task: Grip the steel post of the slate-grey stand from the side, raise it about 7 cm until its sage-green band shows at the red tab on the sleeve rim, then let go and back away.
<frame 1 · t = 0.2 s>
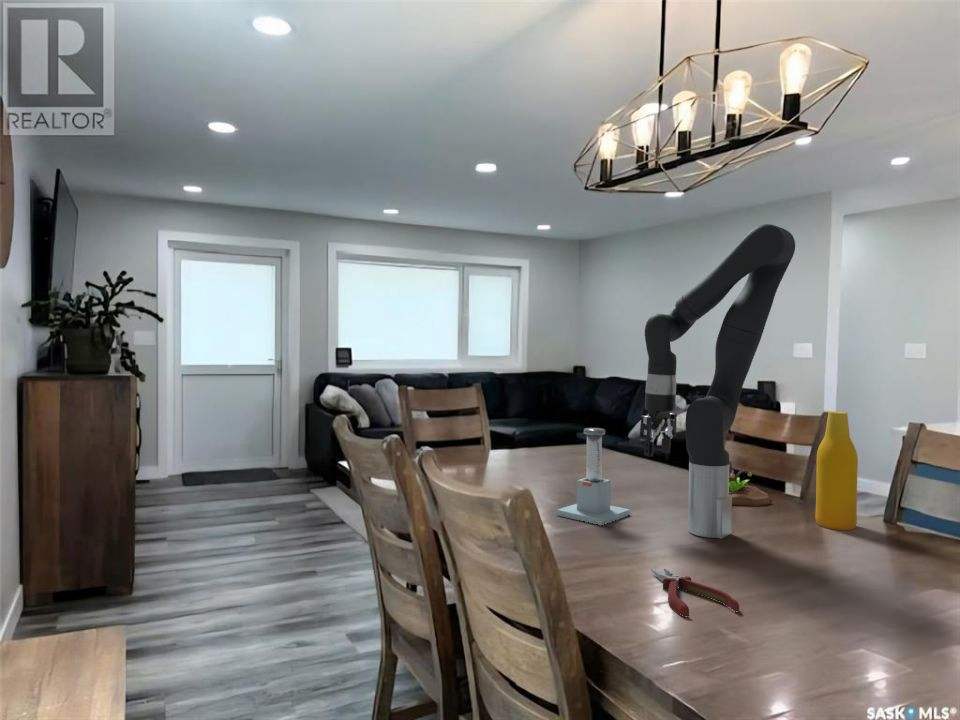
hand: (657, 454, 163), 18 cm above the table, tool pointing down, fingers open, 8 cm apart
column: (593, 468, 170), point 13 cm above the table, slide at 0.0 cm
plant: (731, 499, 191), on the table
stand base: (593, 515, 170), on the table
pliers: (693, 598, 117), on the table
beer bottle: (835, 526, 161), on the table
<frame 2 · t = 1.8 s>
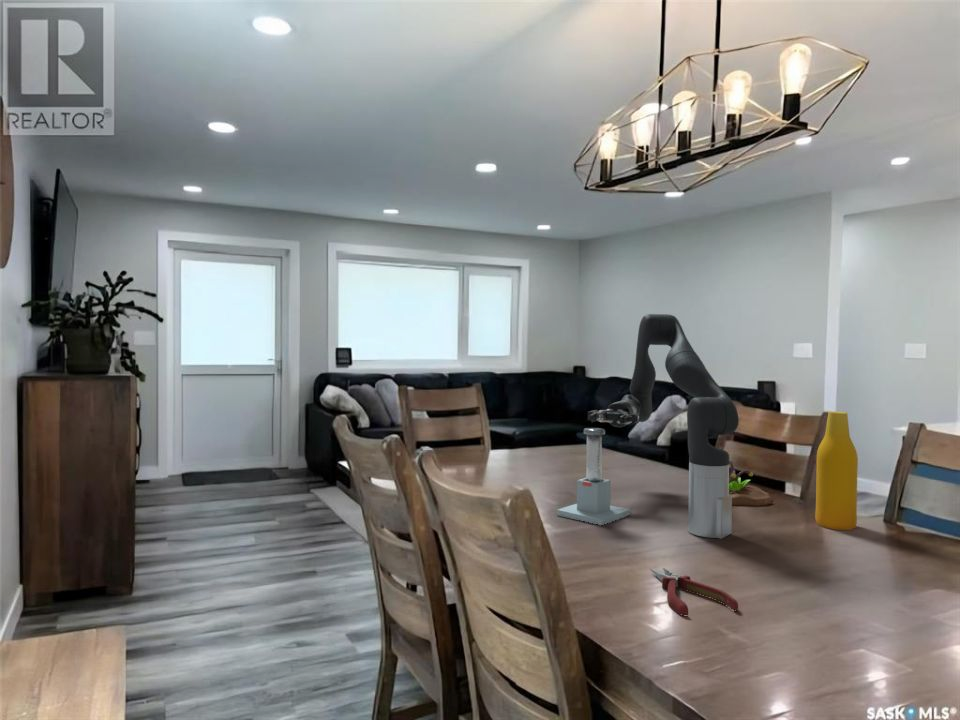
hand: (606, 419, 179), 25 cm above the table, tool horizontal, fingers open, 8 cm apart
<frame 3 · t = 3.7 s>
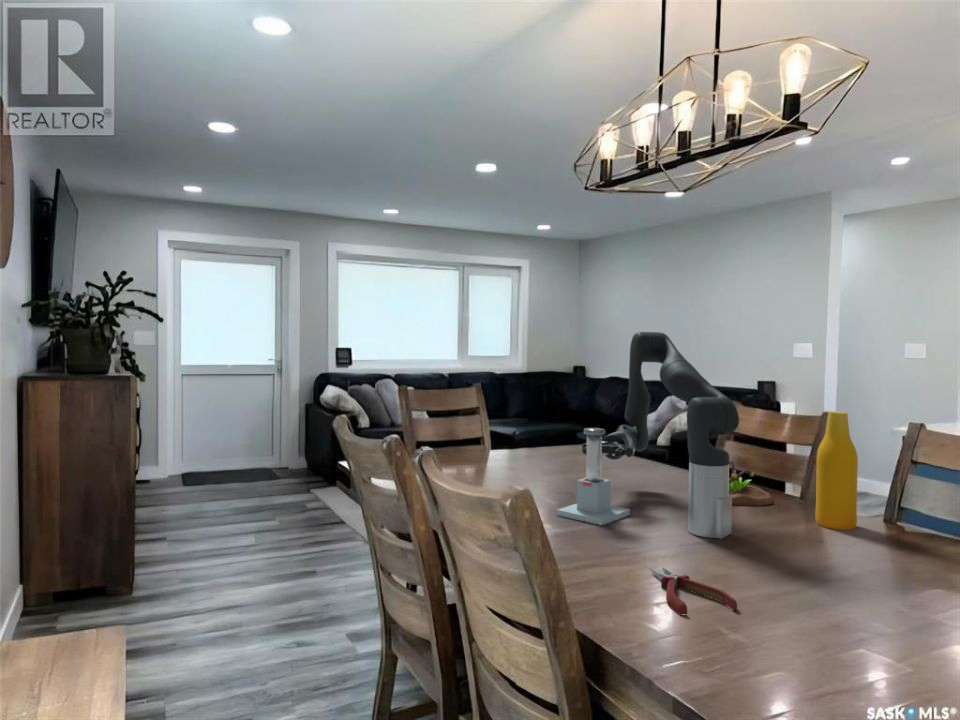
hand: (600, 452, 175), 16 cm above the table, tool horizontal, fingers open, 8 cm apart
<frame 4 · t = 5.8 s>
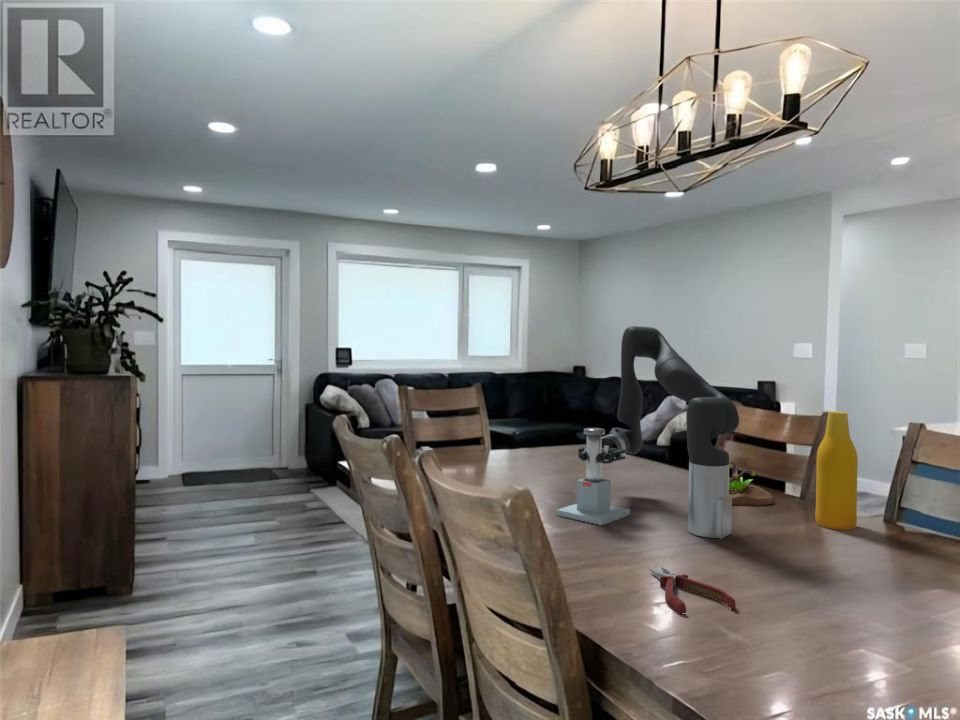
hand: (590, 457, 167), 16 cm above the table, tool horizontal, fingers closed on column, 4 cm apart
column: (593, 468, 170), point 13 cm above the table, slide at 0.0 cm, touching gripper
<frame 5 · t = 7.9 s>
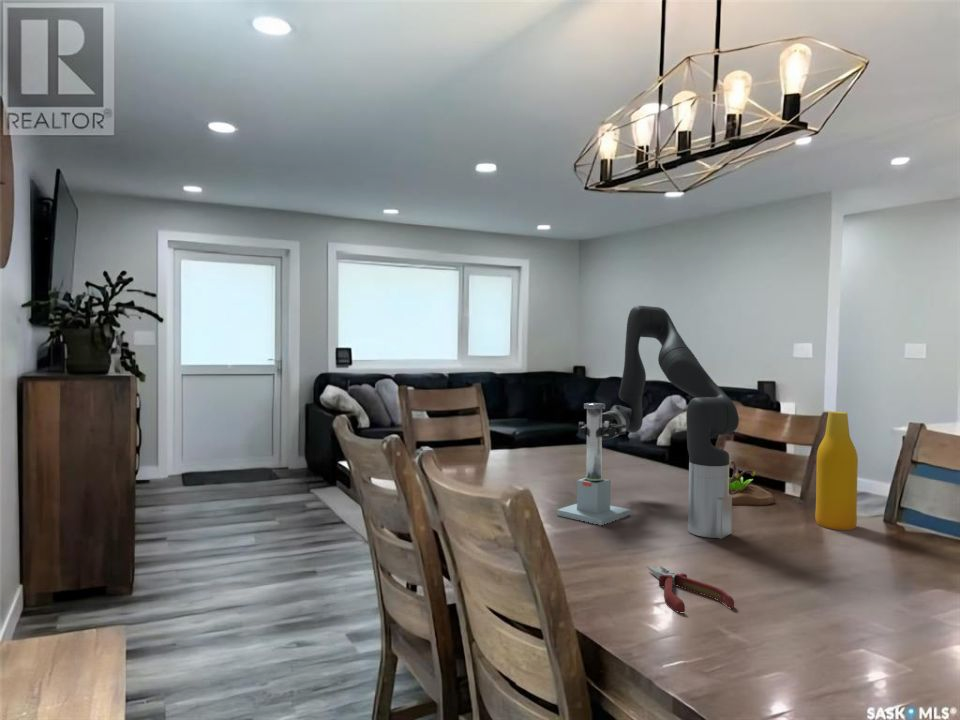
hand: (591, 432, 167), 23 cm above the table, tool horizontal, fingers closed on column, 4 cm apart
column: (594, 443, 169), point 19 cm above the table, slide at 6.8 cm, touching gripper
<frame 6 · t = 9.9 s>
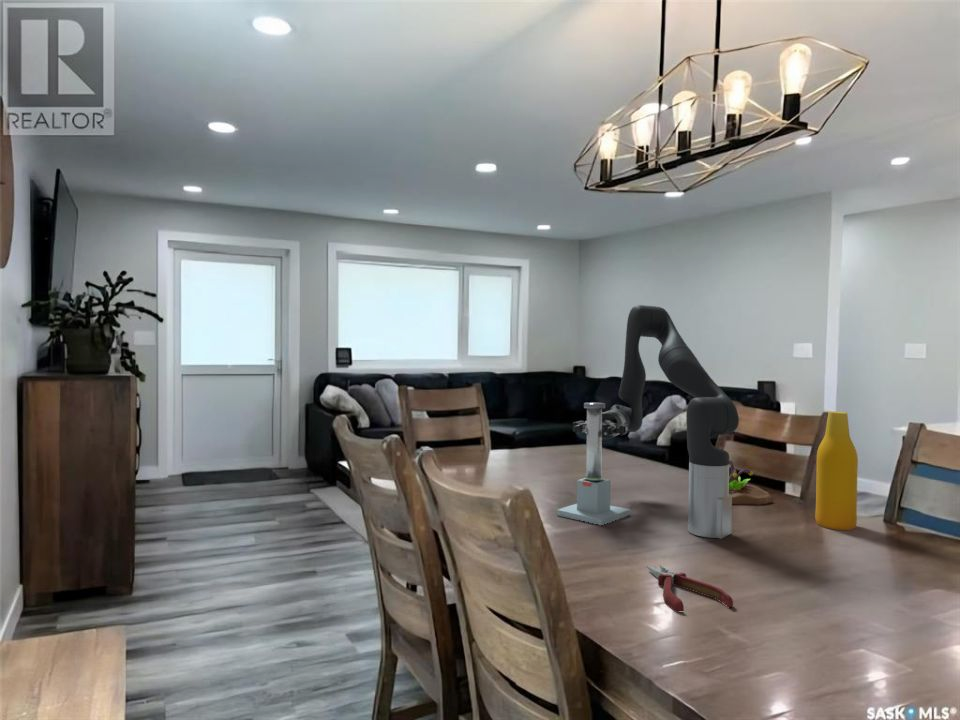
hand: (592, 430, 168), 23 cm above the table, tool horizontal, fingers open, 8 cm apart
column: (594, 442, 169), point 20 cm above the table, slide at 7.0 cm
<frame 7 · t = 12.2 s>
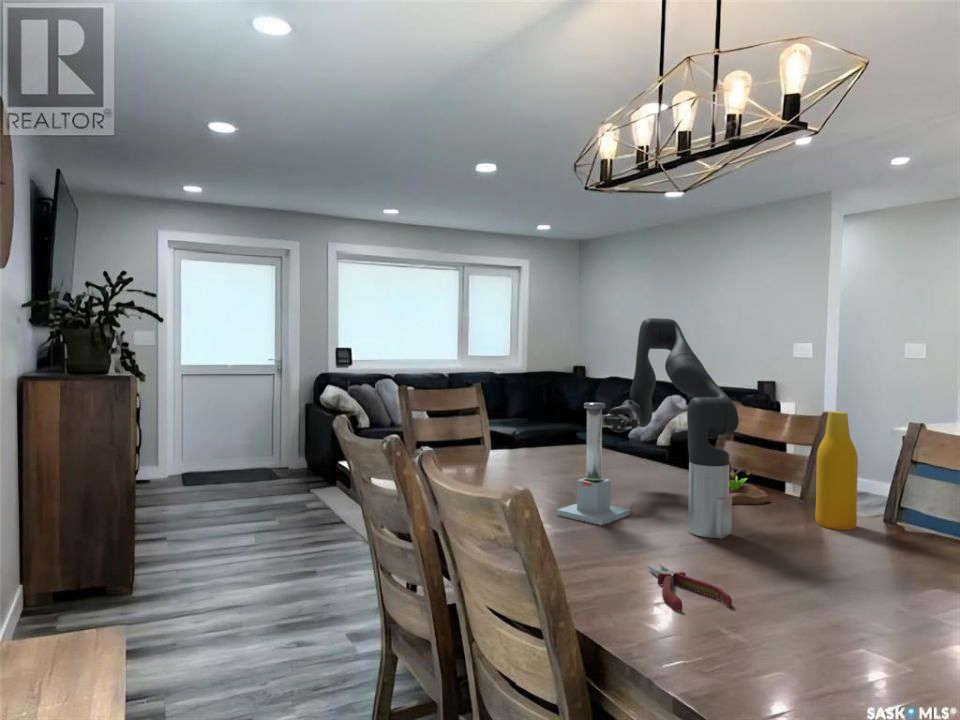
hand: (606, 424, 179), 23 cm above the table, tool horizontal, fingers open, 8 cm apart
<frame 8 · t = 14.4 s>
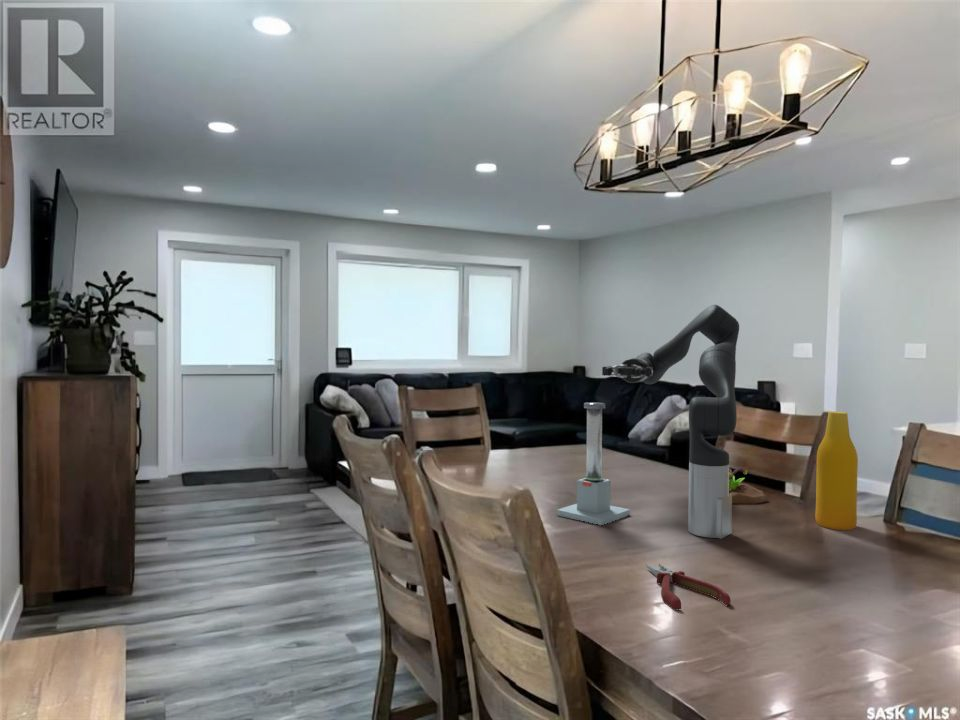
hand: (621, 372, 182), 38 cm above the table, tool horizontal, fingers open, 8 cm apart
at the end: column slide at 7.0 cm; the gripper is holding nothing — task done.
